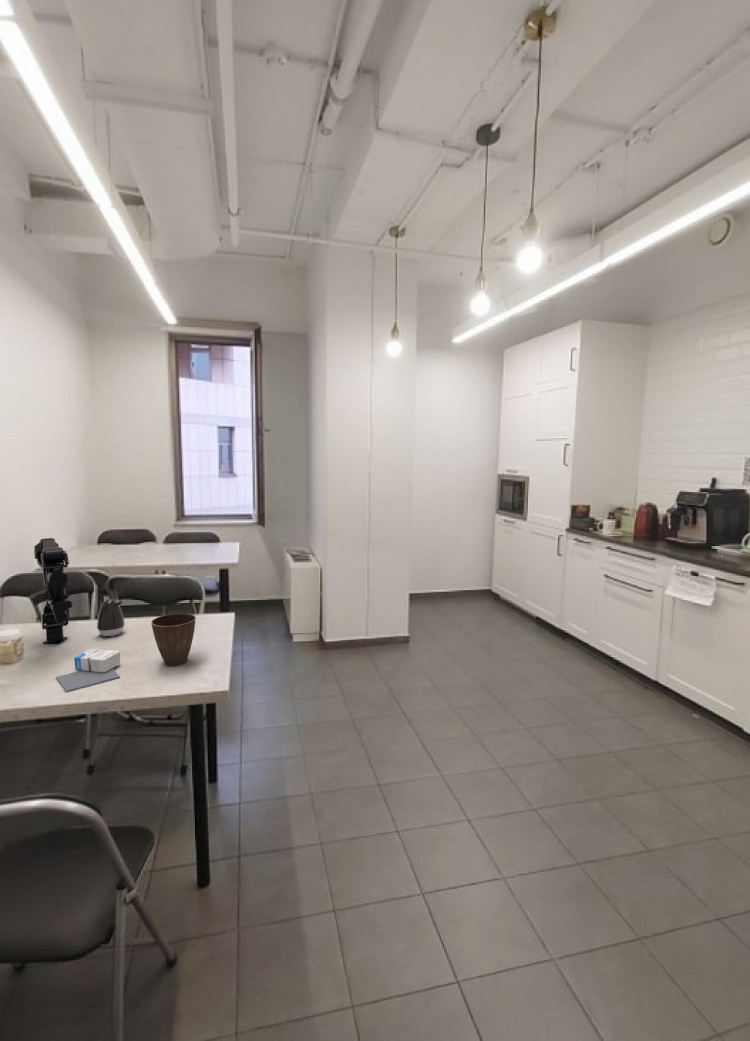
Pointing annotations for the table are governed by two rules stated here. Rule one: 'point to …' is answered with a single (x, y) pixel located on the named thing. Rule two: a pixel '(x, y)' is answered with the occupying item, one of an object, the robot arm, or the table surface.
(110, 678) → the mat
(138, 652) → the table surface
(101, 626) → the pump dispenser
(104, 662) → the ink box
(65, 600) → the robot arm
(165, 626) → the plant pot
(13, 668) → the table surface
